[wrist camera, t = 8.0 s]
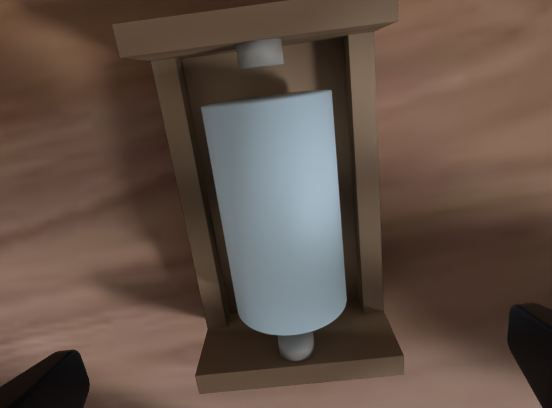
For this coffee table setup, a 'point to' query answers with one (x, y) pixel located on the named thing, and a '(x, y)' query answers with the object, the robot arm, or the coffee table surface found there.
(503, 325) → the coffee table surface
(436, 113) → the coffee table surface
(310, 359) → the holder
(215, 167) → the roll
